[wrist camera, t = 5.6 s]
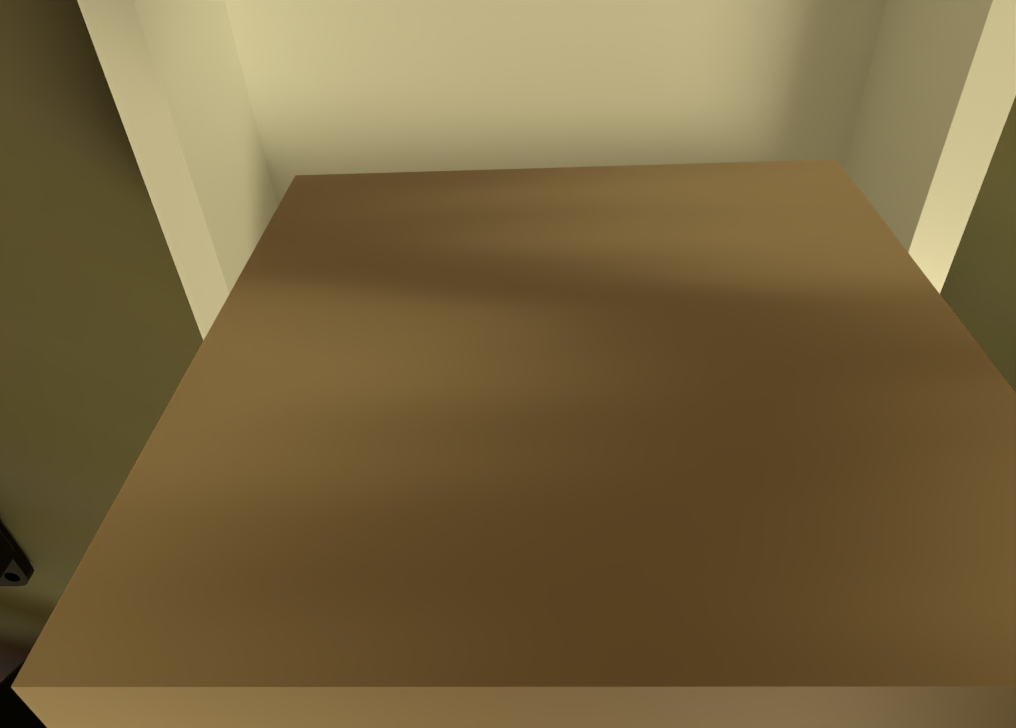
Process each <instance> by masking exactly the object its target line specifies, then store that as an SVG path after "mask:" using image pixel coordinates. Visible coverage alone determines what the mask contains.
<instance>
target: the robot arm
mask: <svg viewBox="0 0 1016 728" xmlns="http://www.w3.org/2000/svg"><path fill="white" fill-rule="evenodd" d="M33 572H34V569H33V567H32V565H31V564H30V563H29V561H28V560H27V559H26V557H25V556H24V554H23V553H22V552H21V550H20V549H19V547H18V546H17V545H16V543H15V542H14V541H13V539H12V538H11V536H10V535H9V534H8V532H7V531H6V529H5V528H4V527H3V525H2V524H1V522H0V586H23V585H25V584H27V583H28V581H29V579H30V578H31V576H32V575H33ZM26 659H27V658H26ZM26 659H25V660H24V661H23V662H22V663H21V664H20V665H19V666H18V667H16V668H15V669H14V670H13V671H12V672H11V673H10V674H9V675H8V676H7V677H6V678H5V679H4V680H3V681H2V682H0V728H47V727H46V726H45V725H44V724H43V723H42V721H41V720H40V719H39V718H38V717H37V716H36V715H35V714H34V712H33V711H32V710H31V709H30V708H29V707H28V706H27V705H26V704H25V702H24V701H23V700H22V699H21V698H20V697H19V696H18V695H17V693H16V692H15V691H14V690H13V689H12V688H11V686H12V684H13V682H14V680H15V679H16V677H17V675H18V673H19V671H20V670H21V668H22V666H23V664H24V662H25V661H26Z"/></svg>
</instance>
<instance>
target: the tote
mask: <svg viewBox="0 0 1016 728" xmlns="http://www.w3.org/2000/svg"><path fill="white" fill-rule="evenodd" d="M77 1H78V4H79V7H80V9H81V12H82V15H83V18H84V20H85V23H86V26H87V28H88V31H89V34H90V36H91V39H92V42H93V45H94V47H95V50H96V53H97V55H98V58H99V61H100V63H101V66H102V69H103V71H104V74H105V77H106V80H107V82H108V85H109V88H110V90H111V93H112V96H113V98H114V101H115V104H116V107H117V109H118V112H119V115H120V117H121V120H122V123H123V125H124V128H125V131H126V133H127V136H128V139H129V142H130V144H131V147H132V150H133V152H134V155H135V158H136V160H137V163H138V166H139V168H140V171H141V174H142V177H143V179H144V182H145V185H146V187H147V190H148V193H149V195H150V198H151V201H152V204H153V206H154V209H155V212H156V214H157V217H158V220H159V222H160V225H161V228H162V230H163V233H164V236H165V239H166V241H167V244H168V247H169V249H170V252H171V255H172V257H173V260H174V263H175V266H176V268H177V271H178V274H179V276H180V279H181V282H182V284H183V287H184V290H185V292H186V295H187V298H188V301H189V303H190V306H191V309H192V311H193V314H194V317H195V319H196V322H197V325H198V328H199V330H200V333H201V336H202V338H203V341H204V339H205V337H206V335H207V333H208V332H209V330H210V328H211V326H212V324H213V323H214V321H215V319H216V317H217V315H218V314H219V312H220V310H221V308H222V306H223V305H224V303H225V301H226V299H227V297H228V296H229V294H230V292H231V290H232V288H233V287H234V285H235V283H236V281H237V279H238V278H239V276H240V274H241V272H242V270H243V269H244V267H245V265H246V263H247V261H248V260H249V258H250V256H251V254H252V252H253V251H254V249H255V247H256V245H257V243H258V242H259V240H260V238H261V236H262V234H263V233H264V231H265V229H266V227H267V225H268V224H269V222H270V220H271V218H272V216H273V215H274V213H275V211H276V209H277V207H278V206H279V204H280V202H281V200H282V198H283V197H284V195H285V193H286V191H287V189H288V188H289V186H290V184H291V182H292V180H293V179H294V177H295V175H325V174H359V173H393V172H426V171H460V170H494V169H528V168H561V167H595V166H629V165H663V164H697V163H730V162H764V161H798V160H831V159H837V160H838V162H839V163H840V164H841V166H842V167H843V168H844V170H845V171H846V172H847V173H848V175H849V176H850V177H851V179H852V180H853V181H854V183H855V184H856V185H857V187H858V188H859V189H860V190H861V192H862V193H863V194H864V196H865V197H866V198H867V200H868V201H869V202H870V204H871V205H872V206H873V207H874V209H875V210H876V211H877V213H878V214H879V215H880V217H881V218H882V219H883V221H884V222H885V223H886V224H887V226H888V227H889V228H890V230H891V231H892V232H893V234H894V235H895V236H896V238H897V239H898V240H899V241H900V243H901V244H902V245H903V247H904V248H905V249H906V251H907V252H908V253H909V255H910V256H911V257H912V258H913V260H914V261H915V262H916V264H917V265H918V266H919V268H920V269H921V270H922V272H923V273H924V274H925V275H926V277H927V278H928V279H929V281H930V282H931V283H932V285H933V286H934V287H935V289H936V290H937V291H938V292H939V294H940V292H941V290H942V287H943V284H944V282H945V279H946V276H947V274H948V271H949V269H950V266H951V263H952V261H953V258H954V256H955V253H956V250H957V248H958V245H959V242H960V240H961V237H962V235H963V232H964V229H965V227H966V224H967V221H968V219H969V216H970V214H971V211H972V208H973V206H974V203H975V200H976V198H977V195H978V193H979V190H980V187H981V185H982V182H983V179H984V177H985V174H986V172H987V169H988V166H989V164H990V161H991V158H992V156H993V153H994V151H995V148H996V145H997V143H998V140H999V138H1000V135H1001V132H1002V130H1003V127H1004V124H1005V122H1006V119H1007V117H1008V114H1009V111H1010V109H1011V106H1012V103H1013V101H1014V98H1015V96H1016V0H77Z"/></svg>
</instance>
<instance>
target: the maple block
mask: <svg viewBox="0 0 1016 728" xmlns="http://www.w3.org/2000/svg"><path fill="white" fill-rule="evenodd" d="M11 688H12V689H13V690H14V691H15V692H16V693H17V695H18V696H19V697H20V698H21V699H22V700H23V701H24V702H25V704H26V705H27V706H28V707H29V708H30V709H31V710H32V711H33V712H34V714H35V715H36V716H37V717H38V718H39V719H40V720H41V721H42V723H43V724H44V725H45V726H46V727H47V728H1016V393H1015V392H1014V391H1013V389H1012V388H1011V387H1010V385H1009V384H1008V383H1007V381H1006V380H1005V379H1004V377H1003V376H1002V375H1001V374H1000V372H999V371H998V370H997V368H996V367H995V366H994V364H993V363H992V362H991V360H990V359H989V358H988V357H987V355H986V354H985V353H984V351H983V350H982V349H981V347H980V346H979V345H978V343H977V342H976V341H975V340H974V338H973V337H972V336H971V334H970V333H969V332H968V330H967V329H966V328H965V326H964V325H963V324H962V323H961V321H960V320H959V319H958V317H957V316H956V315H955V313H954V312H953V311H952V309H951V308H950V307H949V306H948V304H947V303H946V302H945V300H944V299H943V298H942V296H941V295H940V294H939V292H938V291H937V290H936V289H935V287H934V286H933V285H932V283H931V282H930V281H929V279H928V278H927V277H926V275H925V274H924V273H923V272H922V270H921V269H920V268H919V266H918V265H917V264H916V262H915V261H914V260H913V258H912V257H911V256H910V255H909V253H908V252H907V251H906V249H905V248H904V247H903V245H902V244H901V243H900V241H899V240H898V239H897V238H896V236H895V235H894V234H893V232H892V231H891V230H890V228H889V227H888V226H887V224H886V223H885V222H884V221H883V219H882V218H881V217H880V215H879V214H878V213H877V211H876V210H875V209H874V207H873V206H872V205H871V204H870V202H869V201H868V200H867V198H866V197H865V196H864V194H863V193H862V192H861V190H860V189H859V188H858V187H857V185H856V184H855V183H854V181H853V180H852V179H851V177H850V176H849V175H848V173H847V172H846V171H845V170H844V168H843V167H842V166H841V164H840V163H839V162H838V160H837V159H831V160H798V161H764V162H730V163H697V164H663V165H629V166H595V167H561V168H528V169H494V170H460V171H426V172H393V173H359V174H325V175H295V177H294V179H293V180H292V182H291V184H290V186H289V188H288V189H287V191H286V193H285V195H284V197H283V198H282V200H281V202H280V204H279V206H278V207H277V209H276V211H275V213H274V215H273V216H272V218H271V220H270V222H269V224H268V225H267V227H266V229H265V231H264V233H263V234H262V236H261V238H260V240H259V242H258V243H257V245H256V247H255V249H254V251H253V252H252V254H251V256H250V258H249V260H248V261H247V263H246V265H245V267H244V269H243V270H242V272H241V274H240V276H239V278H238V279H237V281H236V283H235V285H234V287H233V288H232V290H231V292H230V294H229V296H228V297H227V299H226V301H225V303H224V305H223V306H222V308H221V310H220V312H219V314H218V315H217V317H216V319H215V321H214V323H213V324H212V326H211V328H210V330H209V332H208V333H207V335H206V337H205V339H204V341H203V342H202V344H201V346H200V348H199V350H198V351H197V353H196V355H195V357H194V359H193V360H192V362H191V364H190V366H189V368H188V369H187V371H186V373H185V375H184V377H183V378H182V380H181V382H180V384H179V386H178V387H177V389H176V391H175V393H174V394H173V396H172V398H171V400H170V402H169V403H168V405H167V407H166V409H165V411H164V412H163V414H162V416H161V418H160V420H159V421H158V423H157V425H156V427H155V429H154V430H153V432H152V434H151V436H150V438H149V439H148V441H147V443H146V445H145V447H144V448H143V450H142V452H141V454H140V456H139V457H138V459H137V461H136V463H135V465H134V466H133V468H132V470H131V472H130V474H129V475H128V477H127V479H126V481H125V483H124V484H123V486H122V488H121V490H120V492H119V493H118V495H117V497H116V499H115V501H114V502H113V504H112V506H111V508H110V510H109V511H108V513H107V515H106V517H105V519H104V520H103V522H102V524H101V526H100V528H99V529H98V531H97V533H96V535H95V537H94V538H93V540H92V542H91V544H90V546H89V547H88V549H87V551H86V553H85V555H84V556H83V558H82V560H81V562H80V564H79V565H78V567H77V569H76V571H75V573H74V574H73V576H72V578H71V580H70V582H69V583H68V585H67V587H66V589H65V591H64V592H63V594H62V596H61V598H60V600H59V601H58V603H57V605H56V607H55V609H54V610H53V612H52V614H51V616H50V618H49V619H48V621H47V623H46V625H45V626H44V628H43V630H42V632H41V634H40V635H39V637H38V639H37V641H36V643H35V644H34V646H33V648H32V650H31V652H30V653H29V655H28V657H27V659H26V661H25V662H24V664H23V666H22V668H21V670H20V671H19V673H18V675H17V677H16V679H15V680H14V682H13V684H12V686H11Z"/></svg>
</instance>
